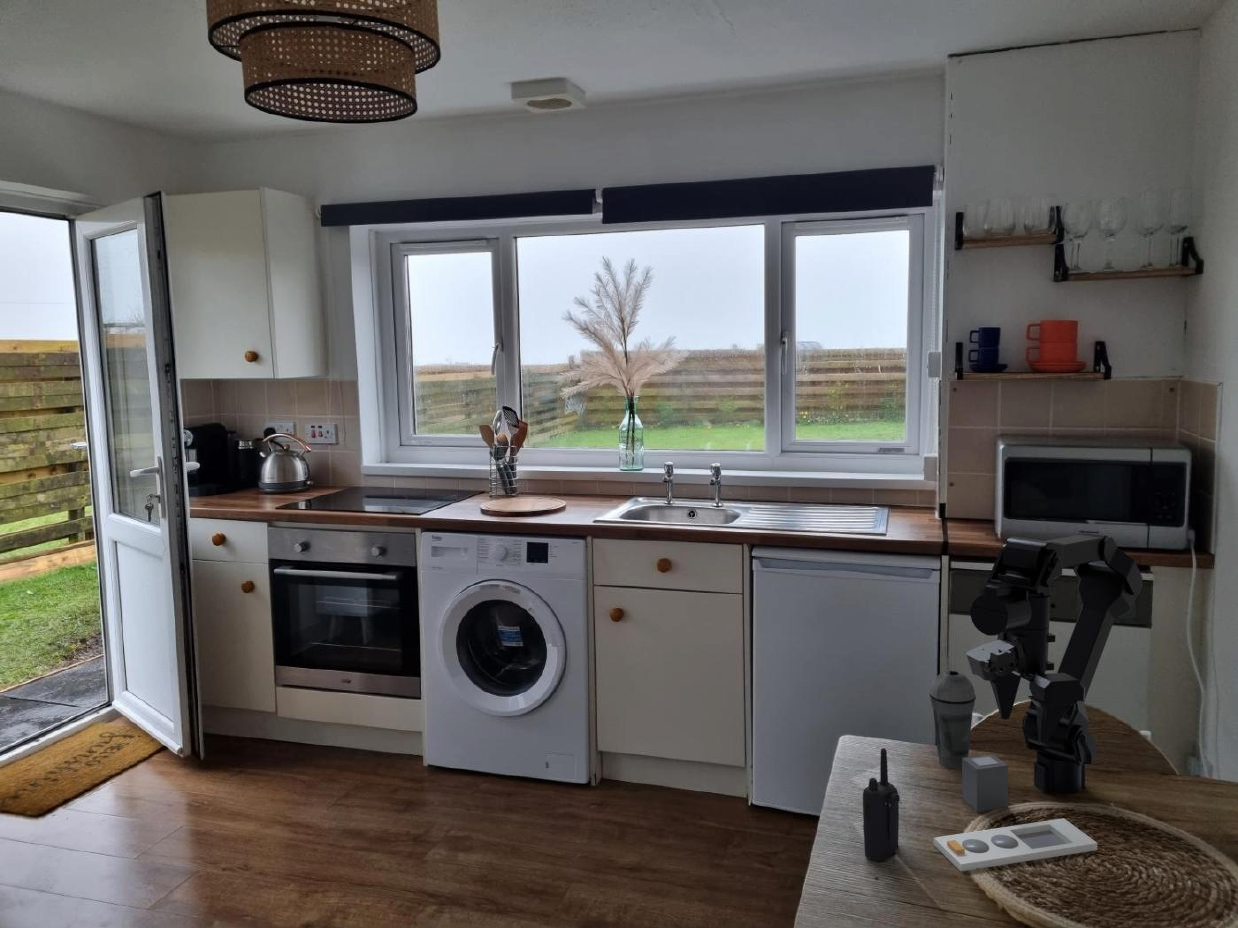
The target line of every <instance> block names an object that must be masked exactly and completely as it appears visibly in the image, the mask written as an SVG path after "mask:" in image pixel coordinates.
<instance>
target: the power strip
mask: <svg viewBox="0 0 1238 928" xmlns="http://www.w3.org/2000/svg"><path fill="white" fill-rule="evenodd" d="M933 845H934V846H935V847H936V849H937V850H939V851H940V852H941V853H942V854H943V855H944V856H945V858H947V859H948V860H949V861H950V863H952V864H953V865H954V867H956V868H957V869H958V870H959V872H966V871H973V870H977V869H976V868H979V869H985V868H991V867H997V866H1005V865H1010V864H1017V863H1023V862H1028V861H1036V860H1041V859H1048V858H1055V857H1061V856H1068V855H1075V854H1079V853H1087V852H1093V851H1098V842H1097V841H1095V839H1092V837H1090V836H1088V835H1087V834H1086V833H1085V832H1083V831H1082V830H1080V829H1079V828H1078V827H1077V826H1076V825H1074V824H1072V823H1071V822H1069V820H1067V819H1066V818H1064V817H1063V818H1056V819H1049V820H1044V821H1035V822H1030V823H1022V824H1016V825H1010V826H1003V827H997V828H996V827H995V828H990V829H984V830H976V831H969V832H961V833H957V834H956V833H955V834H949V835H941V836H938V837H937V836H936V837H933Z"/></svg>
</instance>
